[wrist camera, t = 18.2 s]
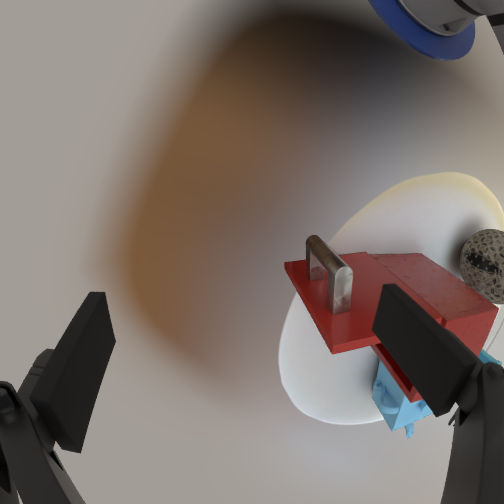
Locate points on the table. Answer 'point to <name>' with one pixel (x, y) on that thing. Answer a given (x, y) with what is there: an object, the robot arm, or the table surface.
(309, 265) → the cabinet door
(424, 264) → the red cabinet body
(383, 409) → the teapot
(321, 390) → the table surface
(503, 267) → the decorative egg
